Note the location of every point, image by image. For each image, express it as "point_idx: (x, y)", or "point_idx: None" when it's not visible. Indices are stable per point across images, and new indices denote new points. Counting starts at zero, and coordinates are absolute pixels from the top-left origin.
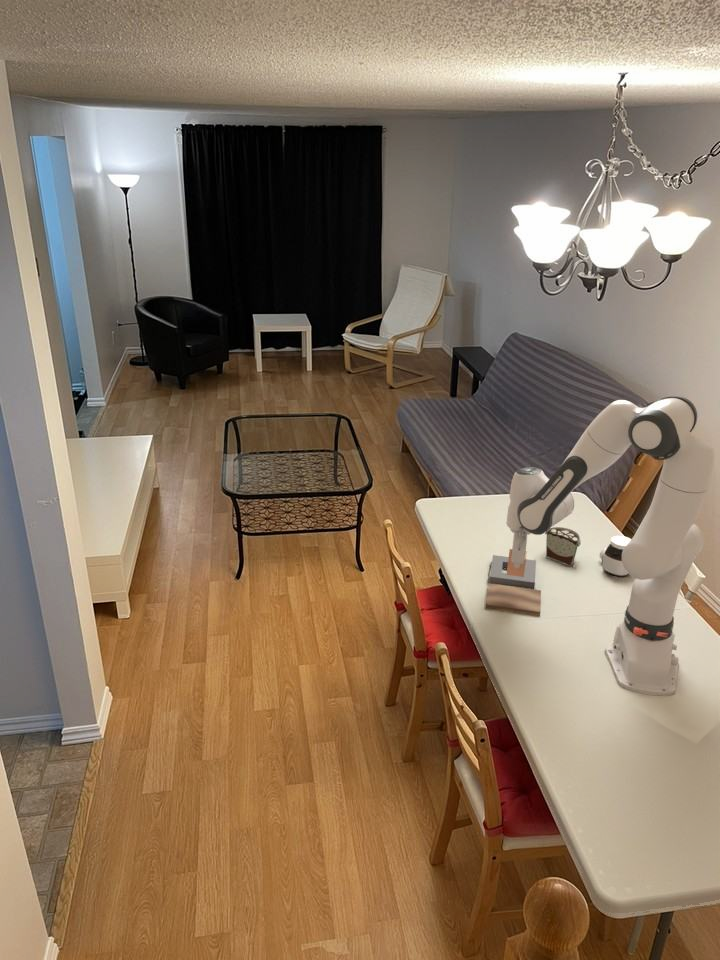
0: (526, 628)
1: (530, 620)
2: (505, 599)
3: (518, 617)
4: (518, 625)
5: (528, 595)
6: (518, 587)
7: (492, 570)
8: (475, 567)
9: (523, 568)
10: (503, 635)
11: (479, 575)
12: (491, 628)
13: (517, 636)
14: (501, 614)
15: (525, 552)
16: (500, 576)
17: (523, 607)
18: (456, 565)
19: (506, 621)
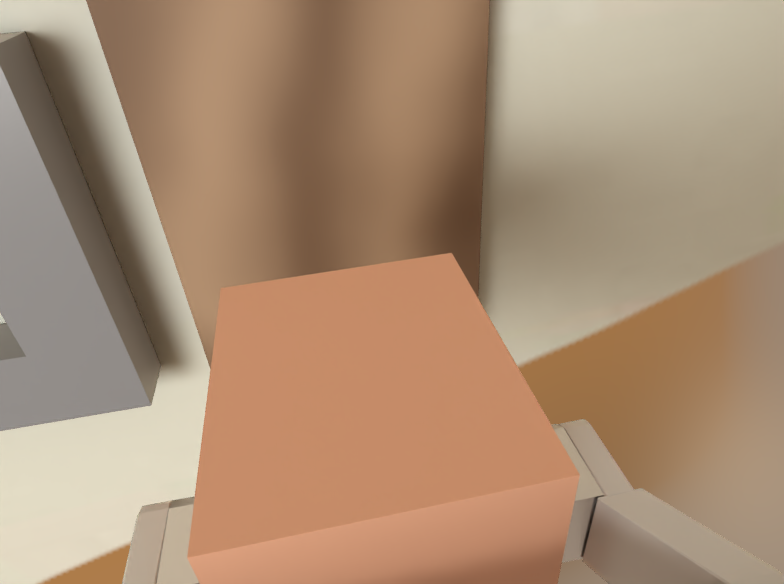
0: (658, 23)
1: (551, 3)
2: (382, 242)
3: (525, 105)
4: (624, 89)
5: (243, 78)
6: (149, 185)
7: (46, 412)
8: (7, 471)
9: (495, 349)
10: (732, 164)
11: (94, 430)
12: (662, 241)
13: (749, 75)
14: (510, 219)
15: (260, 556)
16: (98, 348)
17: (456, 94)
18: (65, 540)
19: (584, 175)
